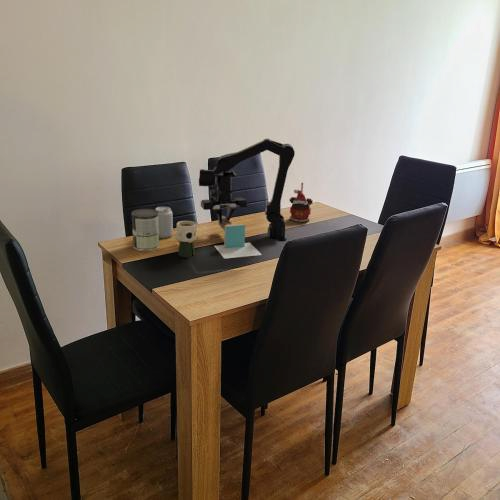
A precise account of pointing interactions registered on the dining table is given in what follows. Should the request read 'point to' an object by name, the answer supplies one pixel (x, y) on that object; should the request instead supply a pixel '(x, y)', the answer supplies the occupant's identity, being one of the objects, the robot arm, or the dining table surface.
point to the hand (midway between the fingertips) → (223, 223)
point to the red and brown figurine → (300, 206)
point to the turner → (224, 222)
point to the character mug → (186, 238)
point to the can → (165, 222)
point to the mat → (238, 251)
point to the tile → (234, 236)
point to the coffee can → (145, 229)
